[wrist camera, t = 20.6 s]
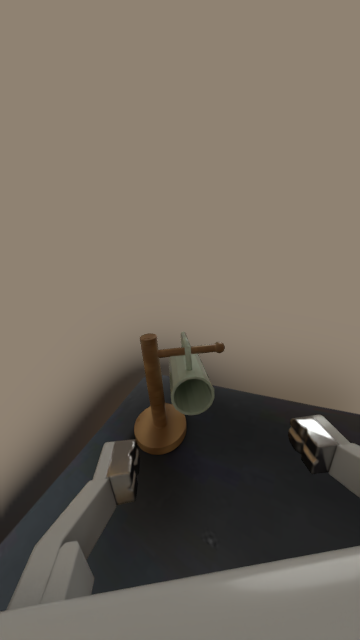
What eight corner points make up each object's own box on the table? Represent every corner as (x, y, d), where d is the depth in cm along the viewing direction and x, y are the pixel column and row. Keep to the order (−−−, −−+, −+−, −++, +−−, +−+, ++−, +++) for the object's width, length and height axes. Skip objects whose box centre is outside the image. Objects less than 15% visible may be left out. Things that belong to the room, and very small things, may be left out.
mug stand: (131, 458, 28) (108, 355, 22) (138, 412, 37) (122, 328, 31) (232, 444, 29) (236, 341, 23) (216, 402, 38) (216, 319, 32)
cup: (200, 374, 38) (215, 412, 27) (170, 377, 37) (173, 417, 27) (197, 326, 35) (212, 347, 25) (165, 329, 35) (166, 352, 24)
